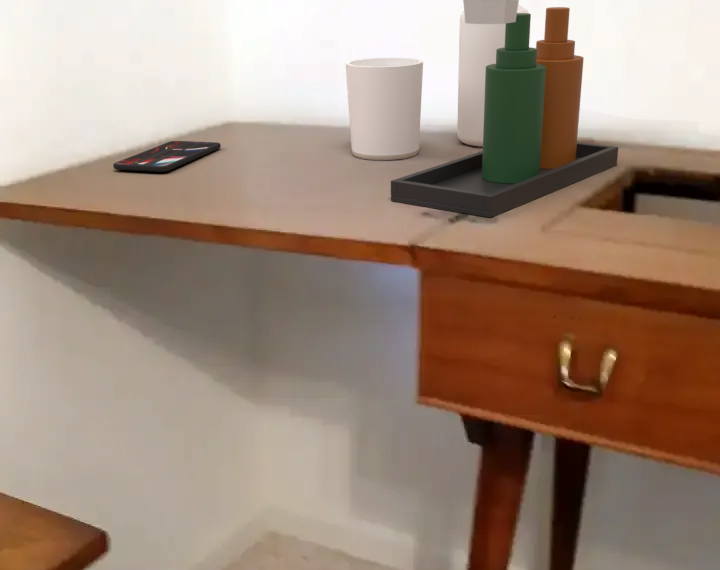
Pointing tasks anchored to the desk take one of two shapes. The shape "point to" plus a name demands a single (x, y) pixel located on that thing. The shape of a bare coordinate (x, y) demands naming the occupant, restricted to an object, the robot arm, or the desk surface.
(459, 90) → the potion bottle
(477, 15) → the low poly bottle
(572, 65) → the amber bottle
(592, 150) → the tray
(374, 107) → the mug
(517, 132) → the green bottle
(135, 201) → the desk surface
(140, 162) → the smartphone
